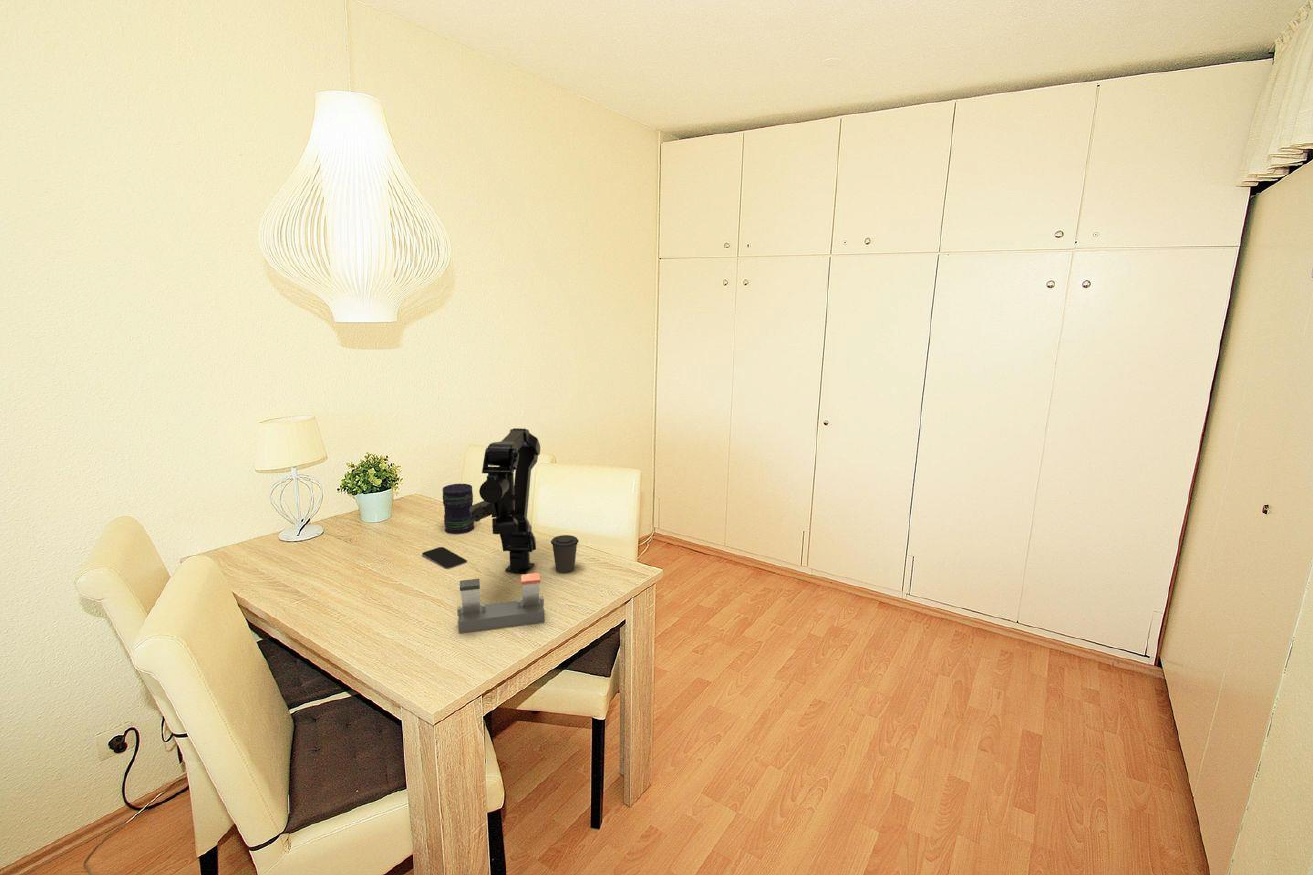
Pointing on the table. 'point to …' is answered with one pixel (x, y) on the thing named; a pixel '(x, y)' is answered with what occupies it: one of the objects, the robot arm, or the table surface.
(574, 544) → the coffee cup
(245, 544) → the table surface
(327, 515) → the table surface
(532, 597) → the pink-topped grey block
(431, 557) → the smartphone
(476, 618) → the switch box
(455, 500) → the storage jar
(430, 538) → the table surface
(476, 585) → the cream dark-capped block
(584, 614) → the table surface
